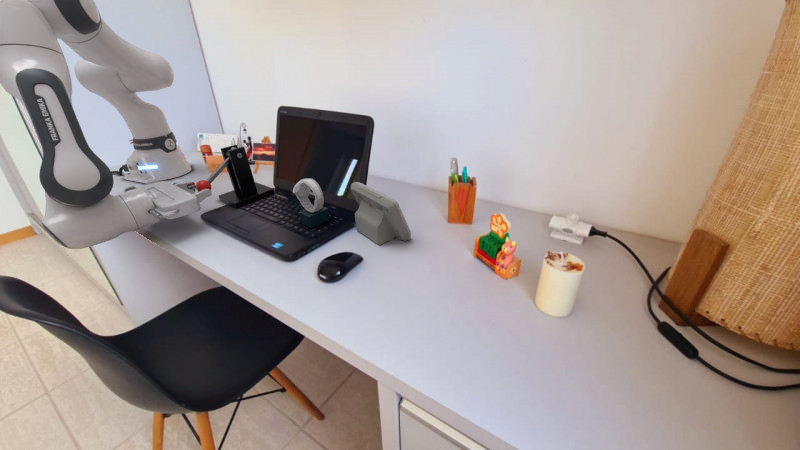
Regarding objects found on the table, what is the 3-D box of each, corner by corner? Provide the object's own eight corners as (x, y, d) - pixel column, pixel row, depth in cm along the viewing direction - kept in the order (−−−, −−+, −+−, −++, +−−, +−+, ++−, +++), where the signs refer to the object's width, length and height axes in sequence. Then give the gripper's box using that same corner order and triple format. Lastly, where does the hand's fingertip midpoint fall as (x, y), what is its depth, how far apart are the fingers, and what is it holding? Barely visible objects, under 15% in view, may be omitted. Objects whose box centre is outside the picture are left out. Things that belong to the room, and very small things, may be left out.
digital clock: (415, 242, 70) (413, 197, 65) (376, 254, 67) (371, 208, 62) (383, 213, 83) (379, 173, 78) (349, 222, 80) (343, 181, 74)
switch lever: (207, 197, 86) (196, 189, 84) (201, 194, 89) (190, 186, 86) (245, 156, 91) (236, 146, 89) (239, 154, 93) (229, 144, 91)
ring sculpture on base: (314, 212, 85) (306, 173, 80) (334, 221, 80) (327, 179, 75) (296, 221, 82) (286, 180, 76) (316, 230, 77) (306, 187, 71)
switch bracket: (236, 208, 90) (219, 156, 83) (219, 200, 96) (201, 151, 89) (274, 193, 98) (261, 144, 91) (257, 186, 104) (243, 140, 97)
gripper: (152, 206, 70) (216, 184, 79) (123, 186, 81) (181, 169, 91) (164, 231, 73) (224, 207, 82) (134, 209, 85) (190, 190, 94)
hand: (202, 187), depth 87 cm, fingers open, 8 cm apart
